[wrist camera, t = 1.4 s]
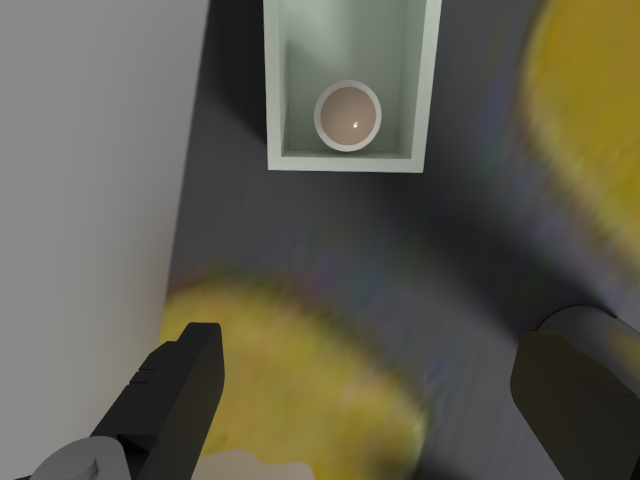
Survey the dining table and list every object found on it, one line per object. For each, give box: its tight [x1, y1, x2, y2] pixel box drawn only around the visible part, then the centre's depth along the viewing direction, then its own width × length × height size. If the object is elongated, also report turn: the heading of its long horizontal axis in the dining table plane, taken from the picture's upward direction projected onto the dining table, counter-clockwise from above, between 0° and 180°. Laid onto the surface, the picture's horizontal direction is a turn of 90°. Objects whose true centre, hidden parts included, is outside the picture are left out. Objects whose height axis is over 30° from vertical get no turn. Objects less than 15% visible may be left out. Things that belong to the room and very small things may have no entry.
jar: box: [314, 80, 381, 151], centre depth 30 cm, size 5×5×8 cm
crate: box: [263, 0, 442, 173], centre depth 29 cm, size 12×20×8 cm, turn 179°
